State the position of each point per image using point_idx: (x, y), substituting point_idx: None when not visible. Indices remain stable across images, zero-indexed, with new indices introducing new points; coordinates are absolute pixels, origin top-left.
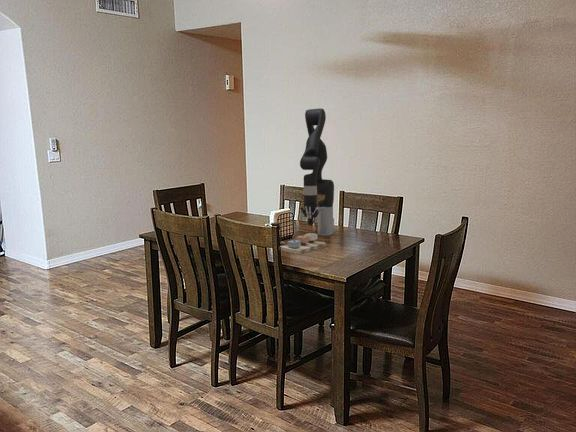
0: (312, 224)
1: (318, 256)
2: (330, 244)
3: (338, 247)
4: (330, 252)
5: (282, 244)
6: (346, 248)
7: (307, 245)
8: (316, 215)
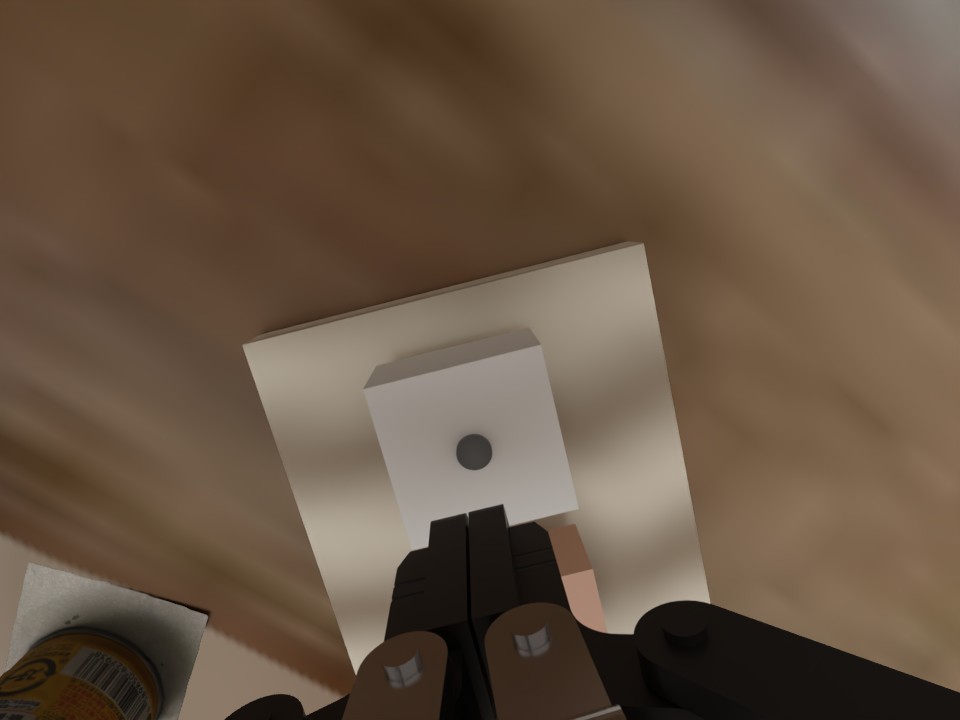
0: (506, 517)
1: (933, 613)
2: (593, 111)
3: (812, 137)
4: (916, 400)
5: (185, 654)
6: (939, 79)
7: (595, 554)
8: (803, 683)
